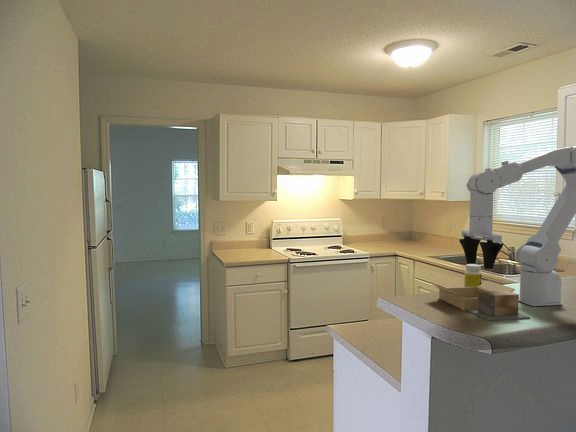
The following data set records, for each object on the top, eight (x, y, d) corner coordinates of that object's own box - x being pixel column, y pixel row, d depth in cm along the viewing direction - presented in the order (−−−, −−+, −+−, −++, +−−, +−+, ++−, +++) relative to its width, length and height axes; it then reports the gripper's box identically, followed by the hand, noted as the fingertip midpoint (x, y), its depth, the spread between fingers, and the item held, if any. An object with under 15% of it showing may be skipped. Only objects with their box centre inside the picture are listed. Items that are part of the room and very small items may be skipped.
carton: (486, 296, 120) (486, 279, 119) (515, 307, 108) (516, 289, 108) (429, 299, 116) (429, 281, 116) (452, 310, 105) (453, 291, 105)
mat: (506, 309, 106) (506, 307, 106) (530, 318, 98) (530, 317, 98) (467, 311, 104) (468, 309, 104) (488, 320, 97) (488, 319, 97)
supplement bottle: (482, 295, 122) (483, 266, 121) (465, 294, 123) (466, 266, 122) (478, 291, 126) (479, 264, 126) (462, 290, 127) (463, 263, 127)
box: (506, 310, 104) (507, 290, 104) (518, 314, 100) (518, 294, 100) (478, 311, 103) (478, 291, 102) (488, 316, 99) (489, 295, 98)
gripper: (452, 215, 119) (451, 262, 120) (485, 218, 105) (483, 271, 105) (474, 215, 120) (473, 261, 121) (509, 218, 106) (507, 270, 107)
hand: (479, 266), depth 113 cm, fingers open, 7 cm apart
